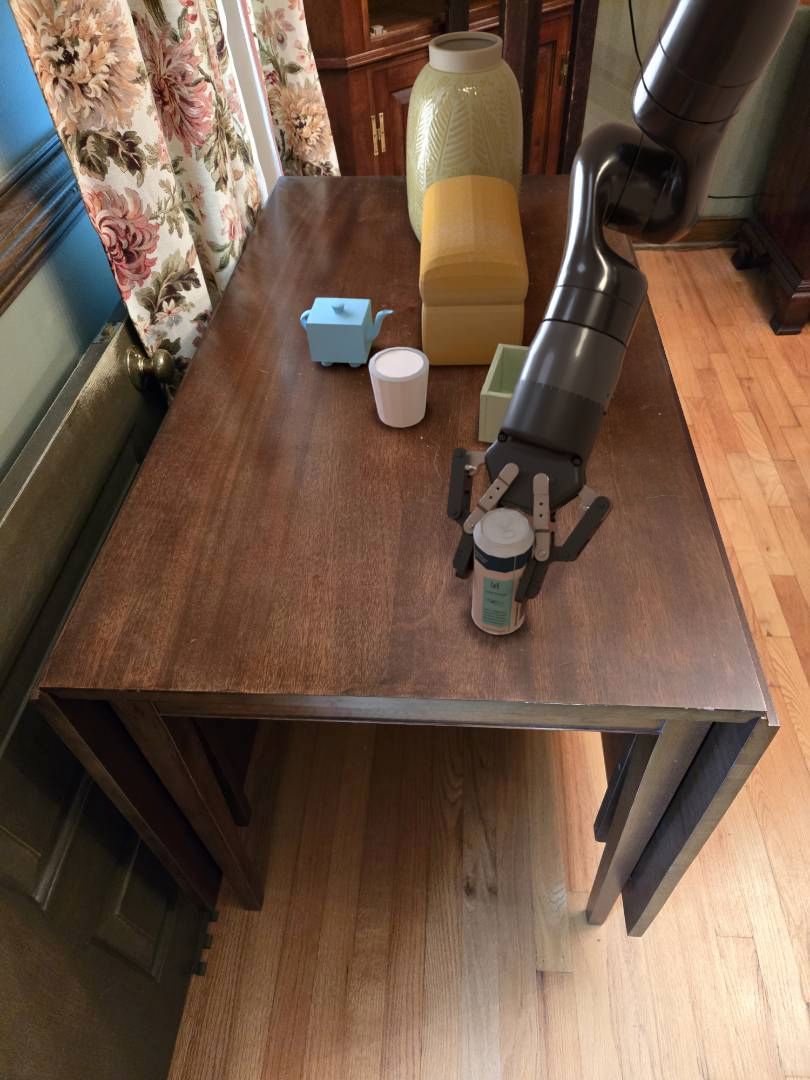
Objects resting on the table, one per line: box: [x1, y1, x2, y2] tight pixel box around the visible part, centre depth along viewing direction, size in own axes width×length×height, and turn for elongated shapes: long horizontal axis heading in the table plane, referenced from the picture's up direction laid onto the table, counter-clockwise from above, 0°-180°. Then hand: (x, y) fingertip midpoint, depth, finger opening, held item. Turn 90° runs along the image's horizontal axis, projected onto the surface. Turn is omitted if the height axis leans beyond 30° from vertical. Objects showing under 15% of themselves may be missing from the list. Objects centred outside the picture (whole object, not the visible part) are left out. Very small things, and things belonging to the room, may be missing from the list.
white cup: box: [368, 346, 430, 428], centre depth 84 cm, size 7×7×7 cm
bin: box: [478, 343, 530, 444], centre depth 82 cm, size 10×10×7 cm
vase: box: [405, 30, 524, 245], centre depth 105 cm, size 17×17×27 cm
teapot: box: [300, 297, 394, 368], centre depth 93 cm, size 12×6×8 cm, turn 82°
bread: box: [418, 175, 530, 366], centre depth 95 cm, size 24×13×15 cm, turn 178°
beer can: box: [471, 507, 535, 636], centre depth 61 cm, size 5×5×12 cm
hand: (491, 588), depth 60 cm, fingers closed on beer can, 4 cm apart
